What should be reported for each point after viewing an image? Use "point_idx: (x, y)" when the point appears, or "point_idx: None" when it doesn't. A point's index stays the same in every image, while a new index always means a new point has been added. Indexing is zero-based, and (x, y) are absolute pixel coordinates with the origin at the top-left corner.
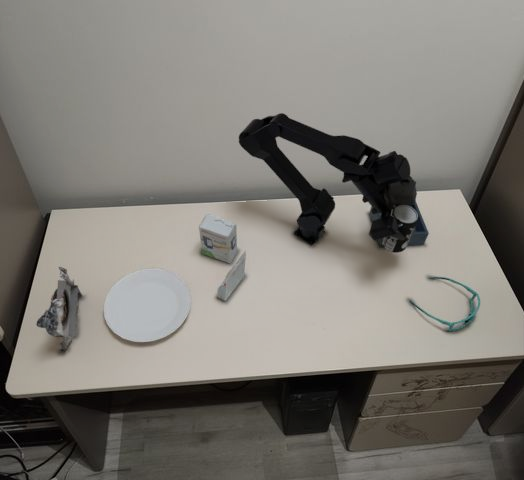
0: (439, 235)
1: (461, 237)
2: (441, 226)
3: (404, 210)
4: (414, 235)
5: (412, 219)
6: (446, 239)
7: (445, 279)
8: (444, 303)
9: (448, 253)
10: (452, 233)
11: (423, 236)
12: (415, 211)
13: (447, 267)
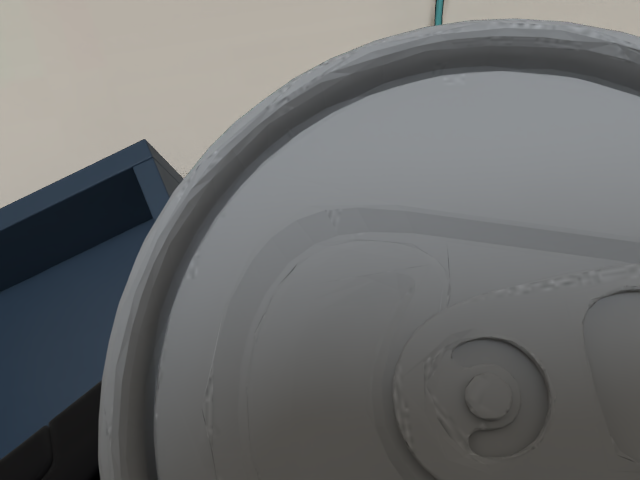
0: (85, 113)
1: (67, 3)
2: (10, 114)
3: (323, 463)
4: None
5: (626, 147)
6: (105, 72)
7: (441, 13)
8: (588, 5)
9: (209, 45)
10: (50, 50)
11: (168, 178)
12: (265, 123)
13: (316, 33)
